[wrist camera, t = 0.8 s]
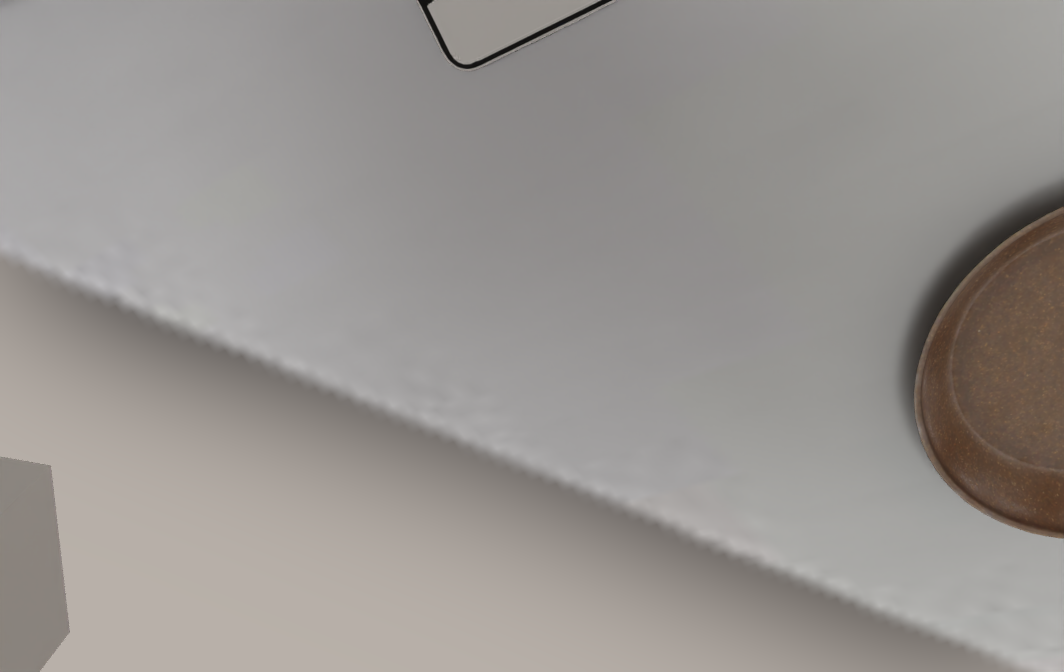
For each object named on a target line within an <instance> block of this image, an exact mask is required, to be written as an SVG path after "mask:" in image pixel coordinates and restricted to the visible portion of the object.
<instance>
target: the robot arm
mask: <svg viewBox="0 0 1064 672" xmlns="http://www.w3.org/2000/svg"><path fill="white" fill-rule="evenodd" d="M69 632H70V630H69V621H68V613H67V604H66V594H65V586H64V577H63V569H62V560H61V551H60V542H59V533H58V524H57V515H56V506H55V498H54V489H53V480H52V471H51V466H50V465H45V464H39V463H33V462H28V461H22V460H16V459H10V458H5V457H0V672H40V670H41V669H42V668H43V666H44V665H45V664H46V662H47V661H48V660H49V659H50V657H51V656H52V654H53V653H54V652H55V651H56V649H57V648H58V647H59V645H60V644H61V643H62V642H63V640H64V639H65V638H66V636H67V635H68V634H69Z"/></svg>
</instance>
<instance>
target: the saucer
mask: <svg viewBox="0 0 1064 672" xmlns="http://www.w3.org/2000/svg"><path fill="white" fill-rule="evenodd" d="M914 409H915V419H916V423H917V427H918V431H919V434H920V438H921V441H922V444H923V446H924V449H925V451H926V453H927V455H928V457H929V459H930V461H931V462H932V464H933V466H934V467H935V469H936V470H937V472H938V473H939V475H940V476H941V477H942V478H943V480H944V481H945V482H946V483H947V484H948V485H949V486H950V487H951V489H952V490H953V491H954V492H955V493H956V494H958V495H959V496H960V497H961V498H962V499H963V500H964V501H966V502H967V503H969V504H970V505H971V506H973V507H974V508H976V509H978V510H979V511H981V512H982V513H984V514H985V515H987V516H990V517H991V518H993V519H995V520H997V521H999V522H1002V523H1004V524H1007V525H1009V526H1012V527H1014V528H1018V529H1020V530H1023V531H1026V532H1030V533H1033V534H1038V535H1043V536H1049V537H1055V538H1064V207H1061V208H1059V209H1057V210H1055V211H1053V212H1051V213H1048V214H1046V215H1045V216H1043V217H1041V218H1039V219H1037V220H1036V221H1034V222H1032V223H1030V224H1029V225H1027V226H1025V227H1024V228H1022V229H1021V230H1019V231H1018V232H1016V233H1015V234H1013V235H1012V236H1010V237H1009V238H1008V239H1006V240H1005V241H1004V242H1003V243H1001V244H1000V245H999V246H998V247H997V248H995V249H994V250H993V251H992V252H991V253H989V254H988V255H987V256H986V257H985V258H984V259H983V260H982V261H981V262H980V263H979V264H977V265H976V267H975V268H974V269H973V270H972V271H971V272H970V273H969V274H968V275H967V276H966V277H965V278H964V279H963V280H962V281H961V283H960V284H959V285H958V287H957V288H956V289H955V290H954V292H953V293H952V295H951V296H950V298H949V299H948V300H947V302H946V303H945V304H944V306H943V308H942V309H941V311H940V312H939V314H938V316H937V318H936V320H935V322H934V324H933V326H932V327H931V330H930V332H929V334H928V337H927V339H926V341H925V344H924V347H923V350H922V353H921V357H920V360H919V364H918V367H917V373H916V379H915V387H914Z"/></svg>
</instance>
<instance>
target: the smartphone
mask: <svg viewBox="0 0 1064 672" xmlns="http://www.w3.org/2000/svg"><path fill="white" fill-rule="evenodd" d="M416 1H417V3H418V5H419V7H420V9H421V11H422V13H423V16H424V18H425V20H426V22H427V24H428V26H429V28H430V30H431V32H432V34H433V36H434V38H435V40H436V42H437V44H438V46H439V48H440V50H441V52H442V54H443V55H444V57H445V59H446V60H447V61H448V62H449V63H450V64H451V65H452V66H453V67H455V68H457V69H459V70H462V71H473V70H476V69H479V68H481V67H484V66H486V65H488V64H490V63H492V62H494V61H496V60H498V59H500V58H502V57H504V56H506V55H508V54H510V53H512V52H514V51H515V52H516V51H518V49H520V48H522V47H524V46H526V45H528V44H530V43H531V44H532V43H534V42H536V41H538V40H540V39H542V38H544V37H547V36H549V35H551V34H553V33H555V32H556V31H557V30H559V29H561V28H565V27H567V26H569V25H571V24H573V23H575V22H577V21H579V20H581V19H583V18H585V17H587V16H589V15H590V14H591V13H593V12H595V11H597V10H599V9H601V8H603V7H605V6H607V5H609V4H612V3H614V2H616V1H618V0H416ZM573 19H574V20H573ZM571 20H572V21H571ZM561 25H562V26H561ZM559 26H560V27H559ZM557 27H558V28H557ZM494 58H495V59H494ZM492 59H493V60H492ZM490 60H491V61H490ZM488 61H489V62H488ZM486 62H487V63H486ZM484 63H485V64H484ZM482 64H483V65H482Z"/></svg>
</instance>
